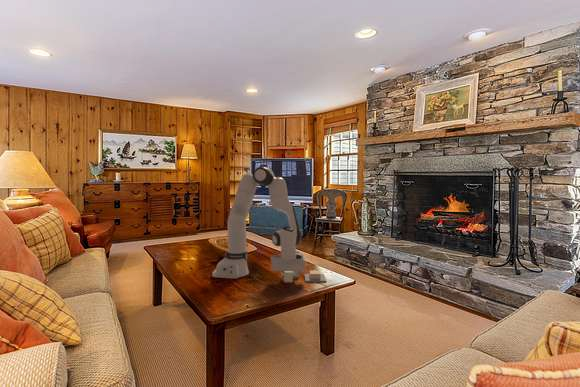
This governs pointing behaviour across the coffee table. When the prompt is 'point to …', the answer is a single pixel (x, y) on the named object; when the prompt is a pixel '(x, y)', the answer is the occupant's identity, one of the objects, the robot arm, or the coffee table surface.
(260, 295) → the coffee table surface
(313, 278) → the build pad
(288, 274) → the cream brick
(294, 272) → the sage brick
